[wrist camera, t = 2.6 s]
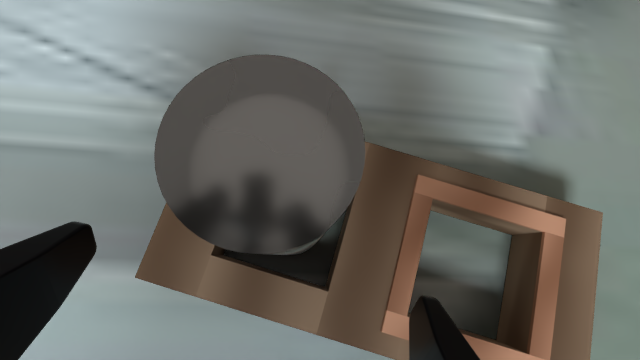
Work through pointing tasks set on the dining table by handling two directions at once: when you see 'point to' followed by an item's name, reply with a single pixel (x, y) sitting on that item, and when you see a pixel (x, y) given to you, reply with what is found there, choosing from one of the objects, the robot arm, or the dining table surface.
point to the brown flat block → (410, 264)
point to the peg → (260, 155)
